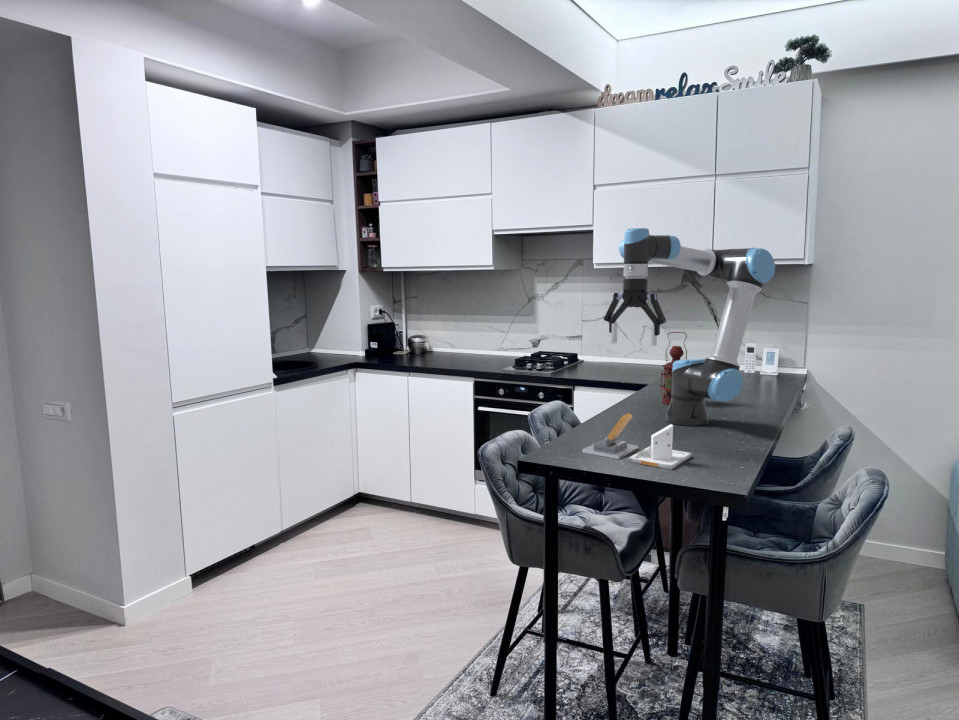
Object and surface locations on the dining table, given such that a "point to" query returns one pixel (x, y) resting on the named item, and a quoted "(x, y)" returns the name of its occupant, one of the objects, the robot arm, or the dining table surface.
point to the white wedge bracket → (662, 444)
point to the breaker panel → (610, 449)
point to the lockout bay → (644, 459)
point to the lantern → (670, 370)
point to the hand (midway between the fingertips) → (633, 344)
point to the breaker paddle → (618, 428)
